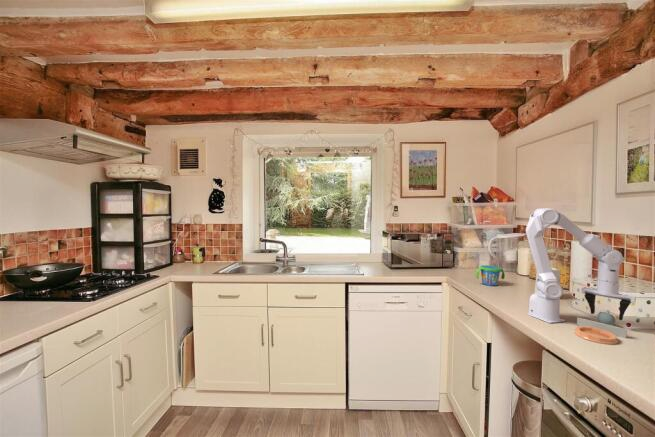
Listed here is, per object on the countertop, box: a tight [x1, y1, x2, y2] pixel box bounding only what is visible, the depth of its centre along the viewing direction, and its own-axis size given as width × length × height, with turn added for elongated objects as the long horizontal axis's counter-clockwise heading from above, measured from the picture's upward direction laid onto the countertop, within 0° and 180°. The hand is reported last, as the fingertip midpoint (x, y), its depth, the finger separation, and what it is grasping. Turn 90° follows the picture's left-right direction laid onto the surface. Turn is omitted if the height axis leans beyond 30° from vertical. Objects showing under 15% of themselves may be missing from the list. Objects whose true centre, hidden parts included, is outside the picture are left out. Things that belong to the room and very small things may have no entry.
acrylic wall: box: [576, 317, 628, 339], centre depth 105 cm, size 13×1×3 cm, turn 37°
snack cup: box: [475, 264, 506, 287], centre depth 167 cm, size 16×10×10 cm
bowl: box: [573, 326, 619, 345], centre depth 100 cm, size 11×11×2 cm
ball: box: [596, 311, 616, 326], centre depth 109 cm, size 5×5×5 cm
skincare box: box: [534, 267, 562, 293], centre depth 144 cm, size 8×6×15 cm
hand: (606, 316), depth 109 cm, fingers open, 7 cm apart
